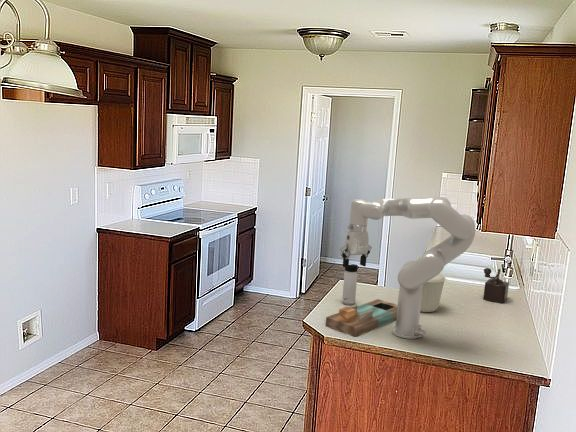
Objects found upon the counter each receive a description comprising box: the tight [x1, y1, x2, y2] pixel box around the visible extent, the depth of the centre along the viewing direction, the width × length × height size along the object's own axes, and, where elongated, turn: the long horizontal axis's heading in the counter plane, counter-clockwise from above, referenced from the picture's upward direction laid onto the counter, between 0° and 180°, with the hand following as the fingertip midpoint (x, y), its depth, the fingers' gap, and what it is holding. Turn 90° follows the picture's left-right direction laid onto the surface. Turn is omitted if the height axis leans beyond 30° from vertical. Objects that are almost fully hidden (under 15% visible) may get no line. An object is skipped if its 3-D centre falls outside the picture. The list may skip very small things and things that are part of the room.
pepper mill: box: [482, 267, 510, 305], centre depth 295 cm, size 16×11×18 cm
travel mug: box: [341, 263, 359, 306], centre depth 278 cm, size 6×7×20 cm
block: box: [338, 305, 356, 323], centre depth 244 cm, size 5×5×5 cm
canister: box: [420, 273, 447, 313], centre depth 275 cm, size 18×18×21 cm
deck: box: [325, 298, 398, 338], centre depth 256 cm, size 16×40×7 cm, turn 137°
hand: (354, 266), depth 248 cm, fingers open, 9 cm apart
